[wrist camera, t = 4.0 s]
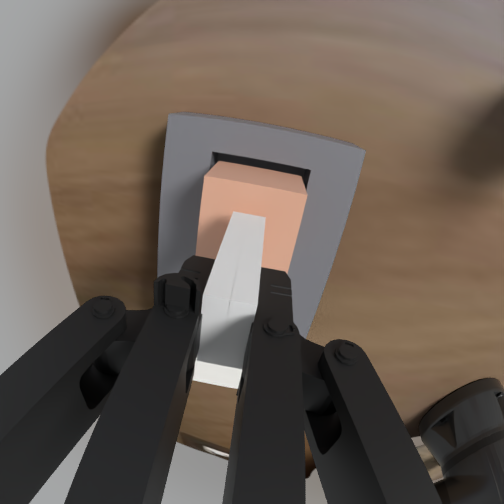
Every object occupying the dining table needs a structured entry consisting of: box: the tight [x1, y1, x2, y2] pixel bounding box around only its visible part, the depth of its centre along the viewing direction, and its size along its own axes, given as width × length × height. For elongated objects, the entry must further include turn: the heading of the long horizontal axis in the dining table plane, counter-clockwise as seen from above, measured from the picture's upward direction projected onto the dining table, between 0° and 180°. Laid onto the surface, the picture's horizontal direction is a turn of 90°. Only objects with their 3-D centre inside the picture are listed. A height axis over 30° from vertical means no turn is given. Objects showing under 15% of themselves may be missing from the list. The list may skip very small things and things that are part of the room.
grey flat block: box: [157, 112, 366, 339], centre depth 23 cm, size 20×12×4 cm, turn 170°
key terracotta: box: [195, 161, 308, 273], centre depth 17 cm, size 5×5×4 cm
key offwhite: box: [193, 358, 242, 389], centre depth 22 cm, size 5×5×4 cm
